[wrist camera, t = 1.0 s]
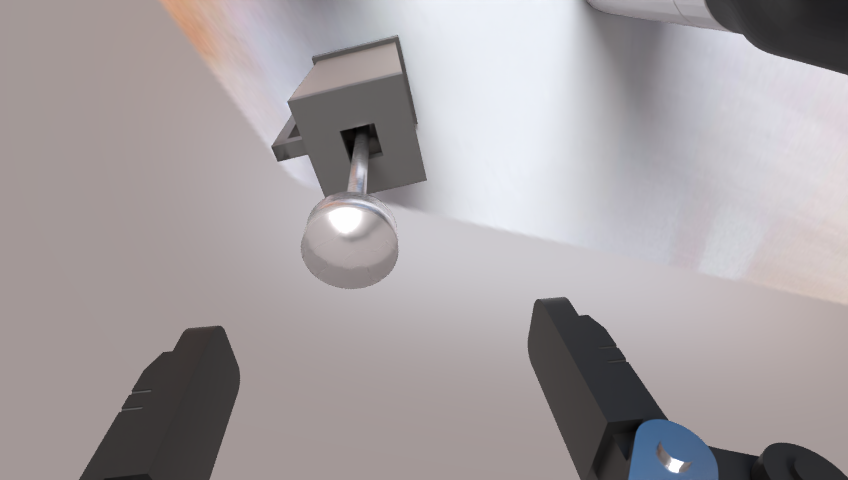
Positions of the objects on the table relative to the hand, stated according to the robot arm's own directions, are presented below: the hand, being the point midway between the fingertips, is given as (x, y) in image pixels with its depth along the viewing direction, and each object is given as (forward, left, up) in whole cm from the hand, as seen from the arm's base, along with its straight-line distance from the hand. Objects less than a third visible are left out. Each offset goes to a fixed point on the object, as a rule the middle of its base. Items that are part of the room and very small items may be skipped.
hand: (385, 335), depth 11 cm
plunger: (+2, +1, -24) cm, 24 cm away
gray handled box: (+3, +1, -35) cm, 36 cm away
